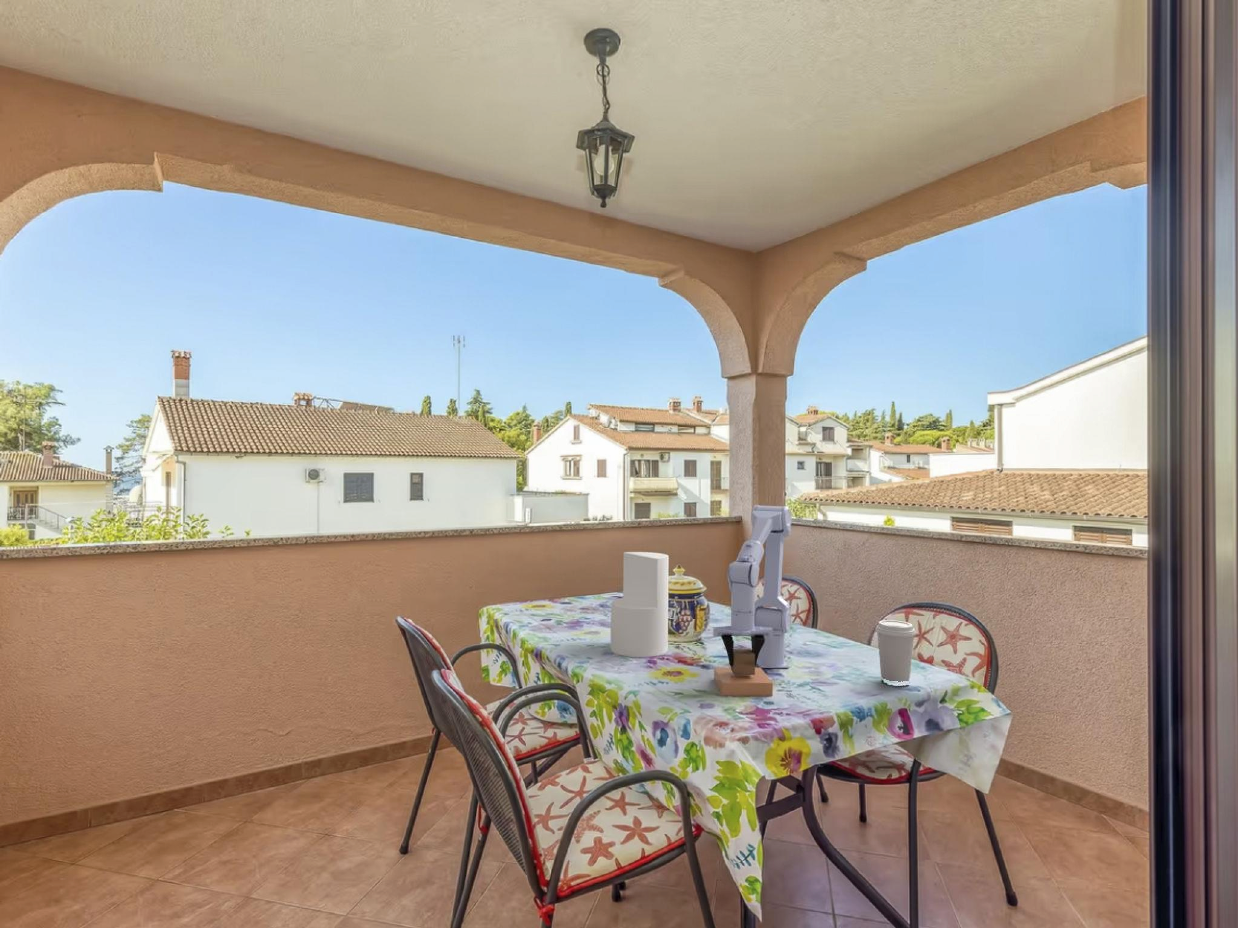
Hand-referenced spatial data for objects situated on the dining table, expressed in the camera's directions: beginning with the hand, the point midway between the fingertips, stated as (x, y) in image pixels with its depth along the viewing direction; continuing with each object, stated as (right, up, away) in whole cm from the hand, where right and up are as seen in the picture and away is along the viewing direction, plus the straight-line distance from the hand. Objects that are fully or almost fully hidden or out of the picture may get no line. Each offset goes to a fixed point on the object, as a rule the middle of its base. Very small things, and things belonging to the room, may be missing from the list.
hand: (742, 665), depth 159 cm
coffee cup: (+40, -6, +5) cm, 41 cm away
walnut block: (0, -2, 0) cm, 2 cm away
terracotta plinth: (0, -5, 0) cm, 5 cm away
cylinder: (-25, -6, +34) cm, 42 cm away
